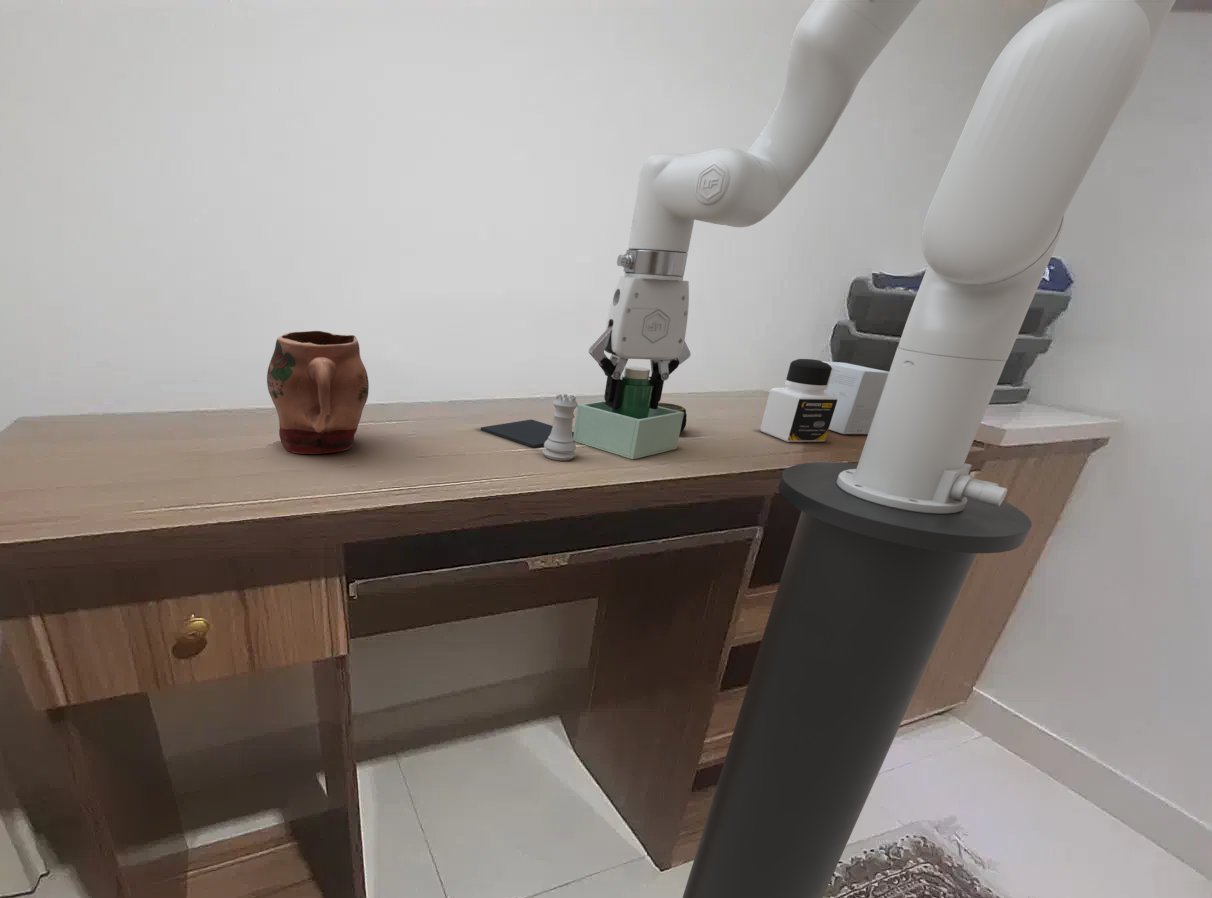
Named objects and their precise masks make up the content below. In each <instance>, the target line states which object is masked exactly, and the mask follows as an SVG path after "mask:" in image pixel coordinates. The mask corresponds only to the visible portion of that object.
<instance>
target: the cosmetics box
mask: <svg viewBox="0 0 1212 898" xmlns="http://www.w3.org/2000/svg"><path fill="white" fill-rule="evenodd" d="M825 362H828V363H829V364H831V365H832V366H833V371H832V374H831V377H830V381H829V384H828V387H827V390H824V393H826V394H829V395H833V396H836V397H837V398H838V400H837V404H836V407H835V410H834V413H833V416H832V420H831V423H830V426H829V429H828V431H833V432H835V433H838V434H840V435H868V433H869V430H870V427H871V424H872V421H873V418H874V415H875V412H876V409H877V406H878V404H879V401H880V398H881V395H882V392H883V389H884V386H885V383H886V380H887V377H888V374H889V371H888V370H882V369H877V368H873V367H867V366H863V365H858V364H853V363H849V362H842V361H841V362H840V361H839V362H838V361H825Z"/></svg>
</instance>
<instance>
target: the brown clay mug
mask: <svg viewBox="0 0 1212 898" xmlns="http://www.w3.org/2000/svg"><path fill="white" fill-rule="evenodd" d="M360 351H361V349H360V344H359V340H358V339H357V336H356V335H353V334H336V333H331V332H327V331H322V330H308V331H292V332H286V333H284V334H282V335H280V336H278V337H277V338H276V341H275V345H274V349H273V352H272V356H271V358H270V362H269V364H268V368H267V371H266V372H267V374H266V385H267V390H268V393H269V396H270V398H271V401H272V403H273V405H274V407H275V410H276V412H277V417H278V424H279V428H278V429H279V430H278V434H279V441H280V442H281V445H282V447H283V448H284V449H285V450H286V451H287V452H291V453H294V454H304V455H305V454H308V455H309V454H310V455H320V454H328V453H329V454H330V453H338V452H343V451H345V450H349V449H350V448H351V447H352V446H354V443H355V434H356V433H357V431H358V427H359V424H360V421H361V418H362V414H363V411H364V408H365V405H366V403H367V401H368V397H369V390H370V389H369V388H370V387H369V386H370V385H369V384H370V383H369V377H368V371H367V369H366V367H365V363H363V361H362V358H361V352H360Z"/></svg>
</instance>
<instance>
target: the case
mask: <svg viewBox="0 0 1212 898" xmlns="http://www.w3.org/2000/svg"><path fill="white" fill-rule="evenodd" d="M605 402H606V401H605V400H599V401H591V402H584V403H577V404H578V406H577V407H576V413H575V422H574V427H573V428H574V429H573V432H574V435H573V439H574V441H573V442H574V443H575V442H576V443H579V444H583V445H585V446H589V447H592V448H595V449H597V450H600V451H604V452H608V453H611V454H614V455H617V456H620V457H624V458H627V459H630V460H637V459H641V458H644V457H645V458H646V457H648V456H652V455H657V454H661V453H665V452H669V451H673V450H677V449H678V444H679V441H680V440H679V439H680V434H681V432H680V430H681V425H682V421H683V416H684V412H680V411H676V410H672V409H668V408H664V407H659V406H658V408H657V409H651V408H650V410H649V416H648V418H643V419H636V418H632V417H628V416H624V415H620V414H617V413H613V412H611V411H612V408H611V407H609V406H607V405H606V404H605Z"/></svg>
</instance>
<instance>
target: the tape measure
mask: <svg viewBox="0 0 1212 898" xmlns="http://www.w3.org/2000/svg"><path fill="white" fill-rule="evenodd" d="M658 406H659V407H664V408H668V409H672V410H676V411H680V412H684V416H683V421H682V425H681V430H680V433H681V432H682V433H683V432H684V430H685V429H686V426H687V420H688V419H687V415H688V414H687V409H686V408H685V407H683V406H681V405H678V404H674V403H667V402H659V403H658Z"/></svg>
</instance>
